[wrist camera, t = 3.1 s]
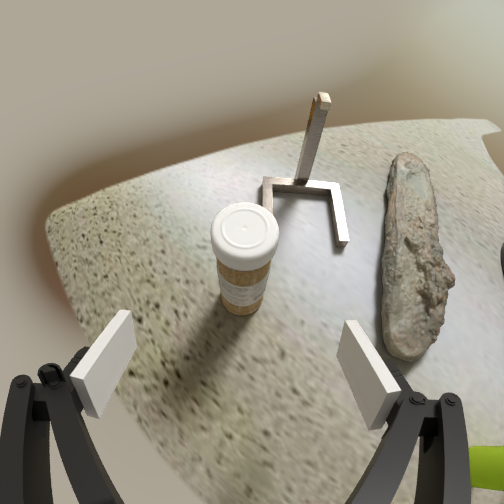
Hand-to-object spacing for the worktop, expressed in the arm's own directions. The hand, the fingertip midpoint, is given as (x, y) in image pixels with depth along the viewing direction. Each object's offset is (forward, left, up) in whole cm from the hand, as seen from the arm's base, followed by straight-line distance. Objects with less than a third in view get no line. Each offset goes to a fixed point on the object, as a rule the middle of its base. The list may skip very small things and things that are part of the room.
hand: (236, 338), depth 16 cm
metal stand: (-17, -11, -12) cm, 23 cm away
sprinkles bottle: (-4, -6, -12) cm, 14 cm away
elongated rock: (-28, 0, -13) cm, 31 cm away
